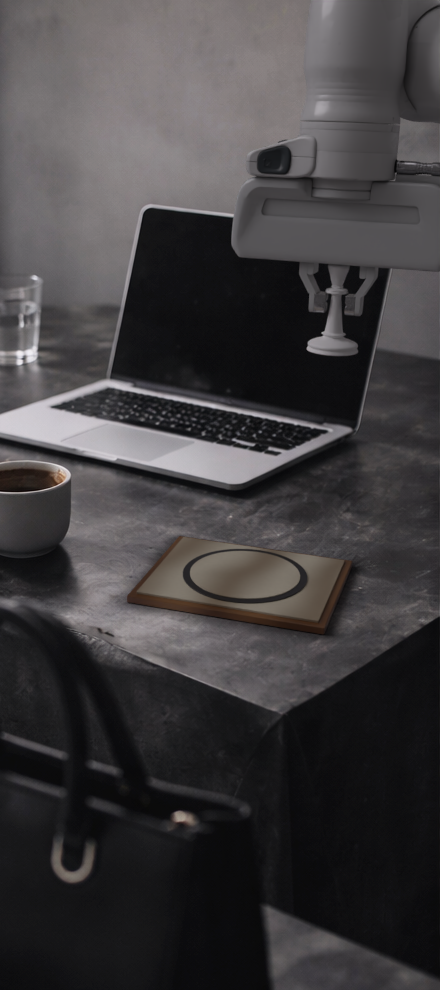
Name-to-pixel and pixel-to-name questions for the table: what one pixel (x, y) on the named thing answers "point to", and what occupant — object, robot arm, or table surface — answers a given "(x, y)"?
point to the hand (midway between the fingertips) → (335, 313)
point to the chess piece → (334, 320)
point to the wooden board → (245, 584)
